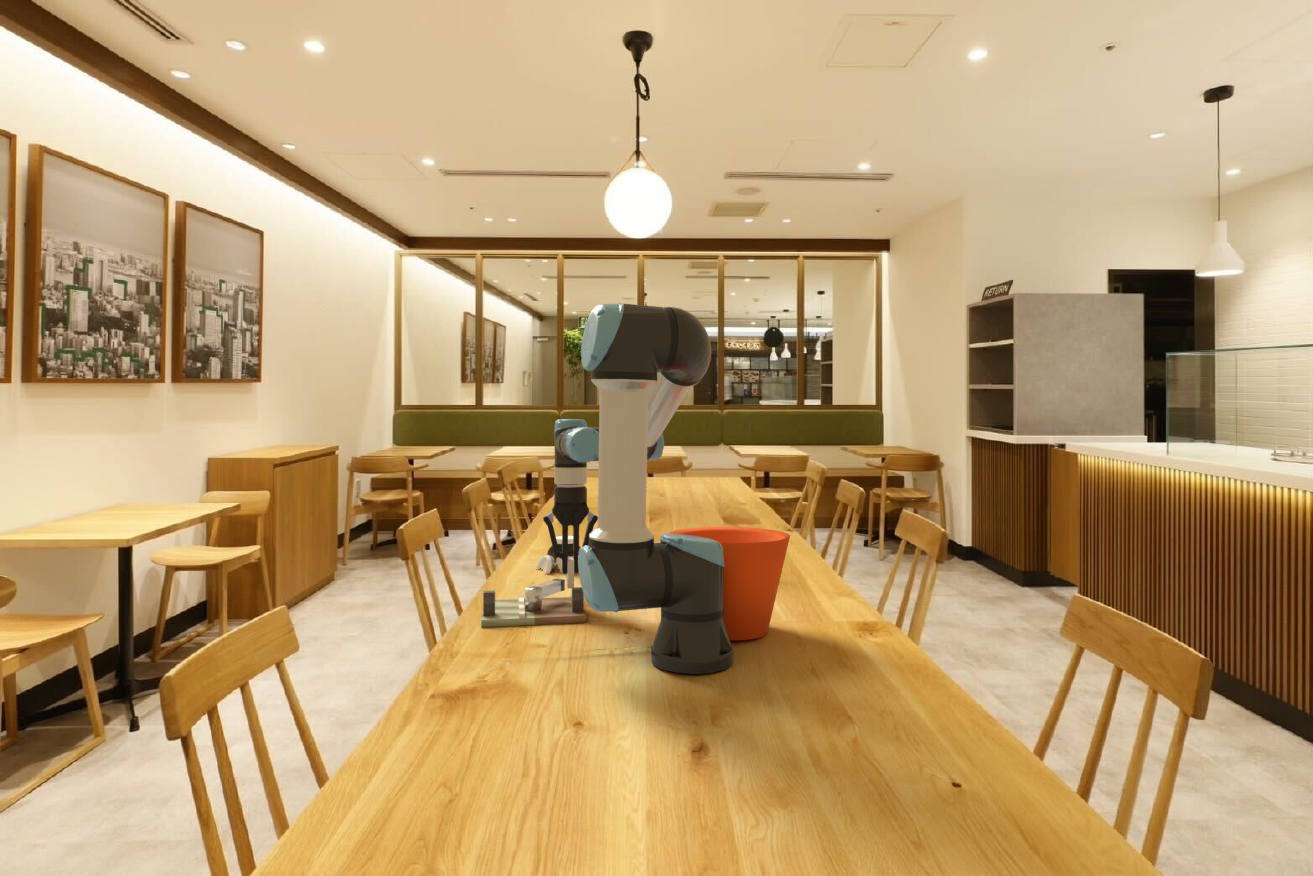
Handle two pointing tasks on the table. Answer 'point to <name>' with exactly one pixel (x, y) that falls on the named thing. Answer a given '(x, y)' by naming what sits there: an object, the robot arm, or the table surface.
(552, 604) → the lever base plate
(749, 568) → the flowerpot
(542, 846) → the table surface
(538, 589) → the lock bar
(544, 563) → the spread jar
